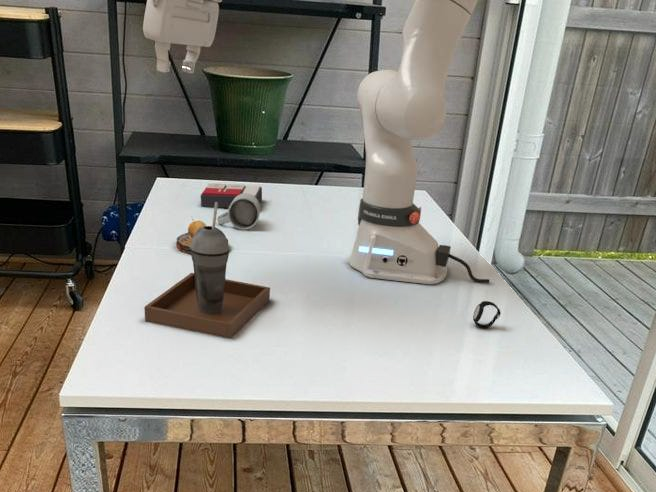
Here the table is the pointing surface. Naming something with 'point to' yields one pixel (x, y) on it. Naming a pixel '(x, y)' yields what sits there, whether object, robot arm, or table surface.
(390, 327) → the table surface
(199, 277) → the beverage cup
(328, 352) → the table surface
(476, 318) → the smartwatch
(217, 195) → the red and grey box
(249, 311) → the tray
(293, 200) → the table surface
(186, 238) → the burger
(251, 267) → the table surface
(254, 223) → the ceramic mug
